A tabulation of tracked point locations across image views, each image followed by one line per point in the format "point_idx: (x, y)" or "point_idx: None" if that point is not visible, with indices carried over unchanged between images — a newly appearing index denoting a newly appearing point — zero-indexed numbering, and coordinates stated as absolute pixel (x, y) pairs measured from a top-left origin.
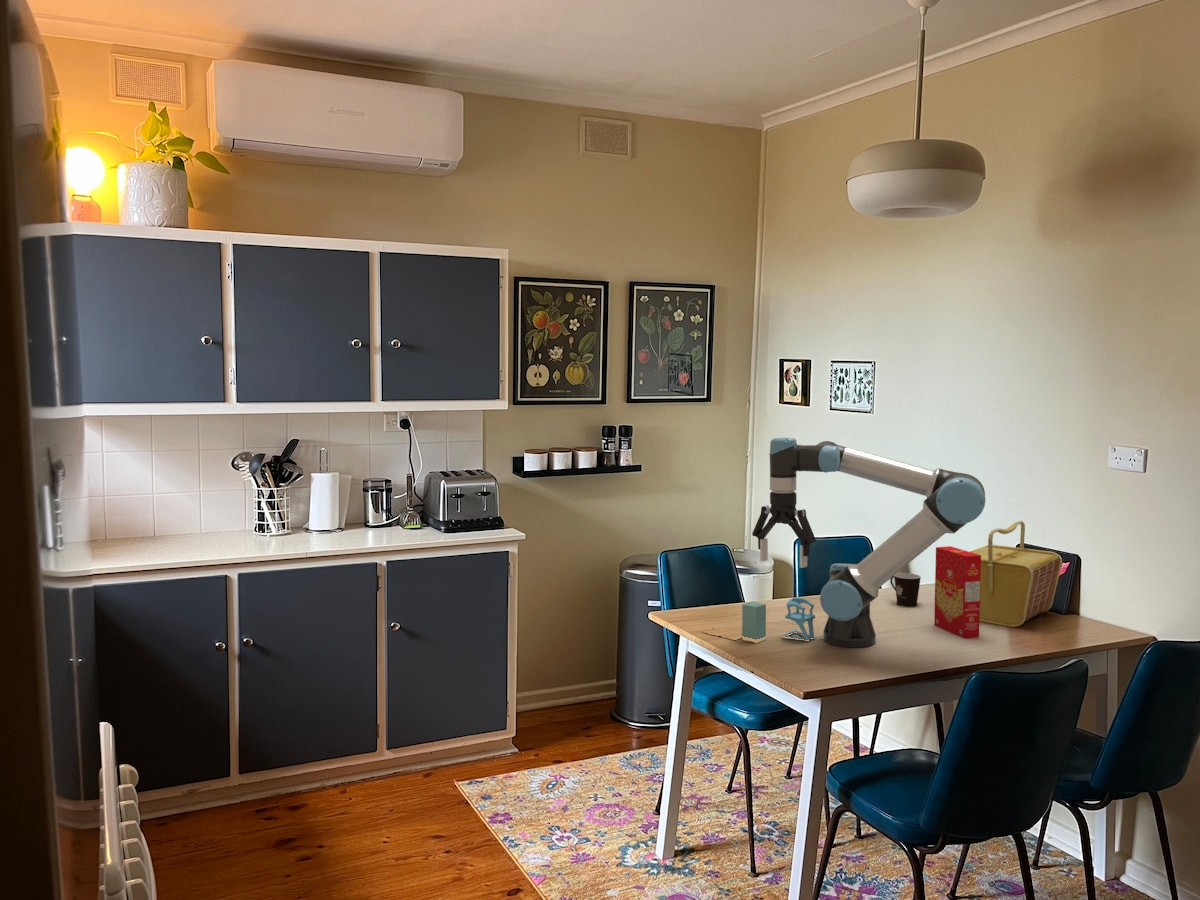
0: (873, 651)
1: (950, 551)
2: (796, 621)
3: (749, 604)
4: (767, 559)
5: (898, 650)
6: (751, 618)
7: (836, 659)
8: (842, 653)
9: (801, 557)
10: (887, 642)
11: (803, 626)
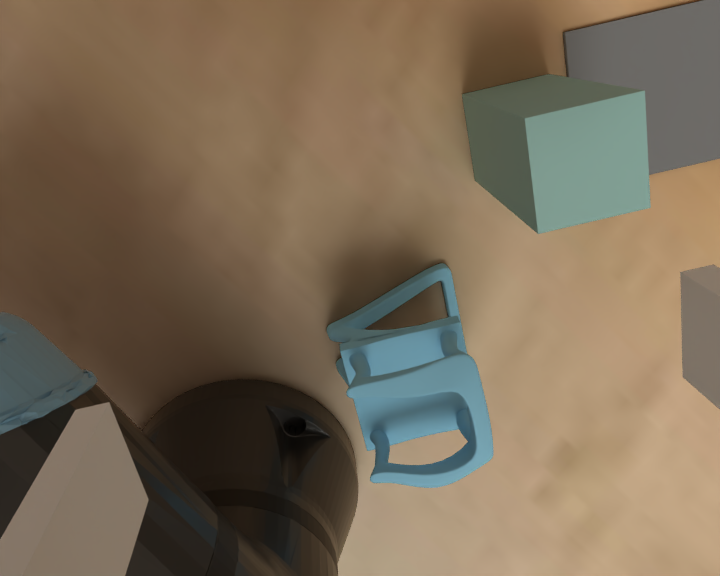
0: None
1: None
2: (385, 331)
3: (608, 133)
4: (688, 377)
5: None
6: (534, 100)
7: (45, 244)
8: (109, 329)
9: (31, 496)
10: None
11: (348, 340)
